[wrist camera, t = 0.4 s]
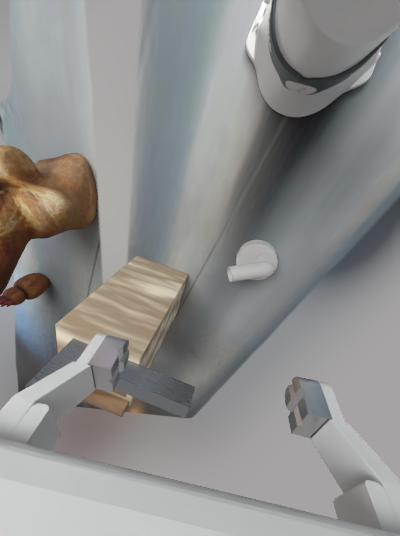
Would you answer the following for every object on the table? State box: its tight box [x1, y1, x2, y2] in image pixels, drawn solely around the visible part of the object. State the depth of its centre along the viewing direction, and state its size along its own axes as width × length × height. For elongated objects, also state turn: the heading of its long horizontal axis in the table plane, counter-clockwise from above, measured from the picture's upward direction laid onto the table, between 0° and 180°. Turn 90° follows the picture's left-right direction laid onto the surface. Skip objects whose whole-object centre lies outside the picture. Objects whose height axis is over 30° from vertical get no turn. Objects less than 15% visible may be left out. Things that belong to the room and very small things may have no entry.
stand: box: [55, 256, 188, 417], centre depth 46 cm, size 14×14×28 cm
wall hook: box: [227, 240, 278, 282], centre depth 44 cm, size 9×10×10 cm
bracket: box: [26, 338, 195, 418], centre depth 30 cm, size 3×20×8 cm, turn 74°
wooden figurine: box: [0, 273, 49, 307], centre depth 61 cm, size 7×6×15 cm
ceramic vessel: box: [0, 146, 98, 295], centre depth 39 cm, size 16×22×30 cm
